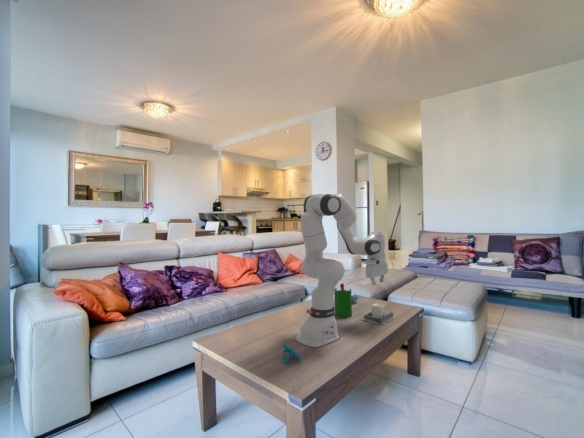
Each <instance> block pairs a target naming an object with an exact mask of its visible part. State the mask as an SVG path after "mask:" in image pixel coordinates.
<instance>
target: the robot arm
mask: <svg viewBox="0 0 584 438" xmlns="http://www.w3.org/2000/svg"><path fill="white" fill-rule="evenodd" d="M330 216H332V217H333V218H334V220H335V221H336V227H337V230H338V232H339V233H340V236H341V238H342V240H343V241H344V243H345V246H346V250H347V251H348V253H349V254H350V255H356V256H357V255H360V256H368V257H367V259H366V260H365V263H364V264H365V275H366V278H368V279H370V282H371V285H372V286H375V285H377V281H376V278H377V277H379V283H384V281H385V280H384V279H385V275H387V274H388V272H389V267H388V262H387V260H386V253H385V249H386V242H385V235H384V234H383V233H382V232H379V231H378V232H377V231H372V232H370V233H369V234H368V236H367V237H364V238H363V237H362V238H361V237H356V236H355V235H354V234H353V232H352V231H351V229H350V228H351V227H352V226H353V225H355V223H356V221H357V219H358V218H357V217H358V215H357V212H356V211H355V209H354V208H353V206H352V205H351V203H350V202H349V201H348V200H347V198H346V197H344V196H343V195H342V193H341V194H340V193H336V194H335V193H334V194H332V193H331V194H330V193H317V194H311V195H308V196H307V197H305V199H304V200H303V214H302V215H300V230H301V234H302V238H303V243H304V247H305V256H304V258H303V260H302V262H301V265H300V270H301V272H302V275H305V276H307V277H308V278H311V279H316V280H318V283H317V286H316V287H315V288H313V289H312V290H311V307H310V309H309V308H308V309H306V310H305V311H306V314H309V315H308V317H307V318H306V319H305V320H304V323H303V324H302V325H301V328H300V333H299V334H298V335H297V336H296V337H295V340H296V341H297V342H298V343H300V344H301V345H304V346H307V347H312V348H319V347H323V346H325V345H328V344H330V343H333V342H335V341H338V340H340V336H339V334H338V326H337V320H336V318H335V317H336V316H335V305H334V302H335V296H334V289H335V288H336V286H337V284H338V283H339V282H340V281H341V280H342V278H344V275H345V267H344V265H343V263H342V262H340V261H338V260H335V259H332V258H325V257H324V255H323V253H324V250H326V249H327V247H328V241H327V238H326V233H325V228H324V224H323V218H324V217H330Z"/></svg>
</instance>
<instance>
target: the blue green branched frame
mask: <svg viewBox="0 0 584 438" xmlns="http://www.w3.org/2000/svg"><path fill="white" fill-rule="evenodd" d="M281 347H282V349H283V351H282V354H281V356H280V358H281V359H283V357H284V355H285V354H286V355H287V356H286V358H284V361H283V363H285V364H287V362H288V361H289V360H290V357H292V355H293V356H294V357H295V358H297V359H299V360H301V361H302V359H303V358H302V356H301V355H300V354H299V353H297V352H296V351H295V349H293V348H291V347H289V346H288V345H286V344H284V343H281Z"/></svg>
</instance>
